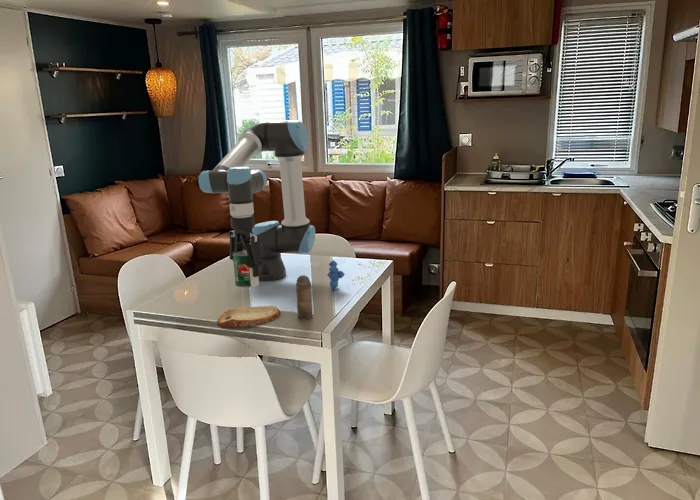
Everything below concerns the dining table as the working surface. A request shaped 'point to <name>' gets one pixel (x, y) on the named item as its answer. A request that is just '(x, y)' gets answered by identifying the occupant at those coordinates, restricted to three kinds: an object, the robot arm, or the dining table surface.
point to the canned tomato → (242, 269)
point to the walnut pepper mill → (304, 297)
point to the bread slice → (248, 316)
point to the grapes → (334, 274)
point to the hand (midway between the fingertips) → (247, 283)
